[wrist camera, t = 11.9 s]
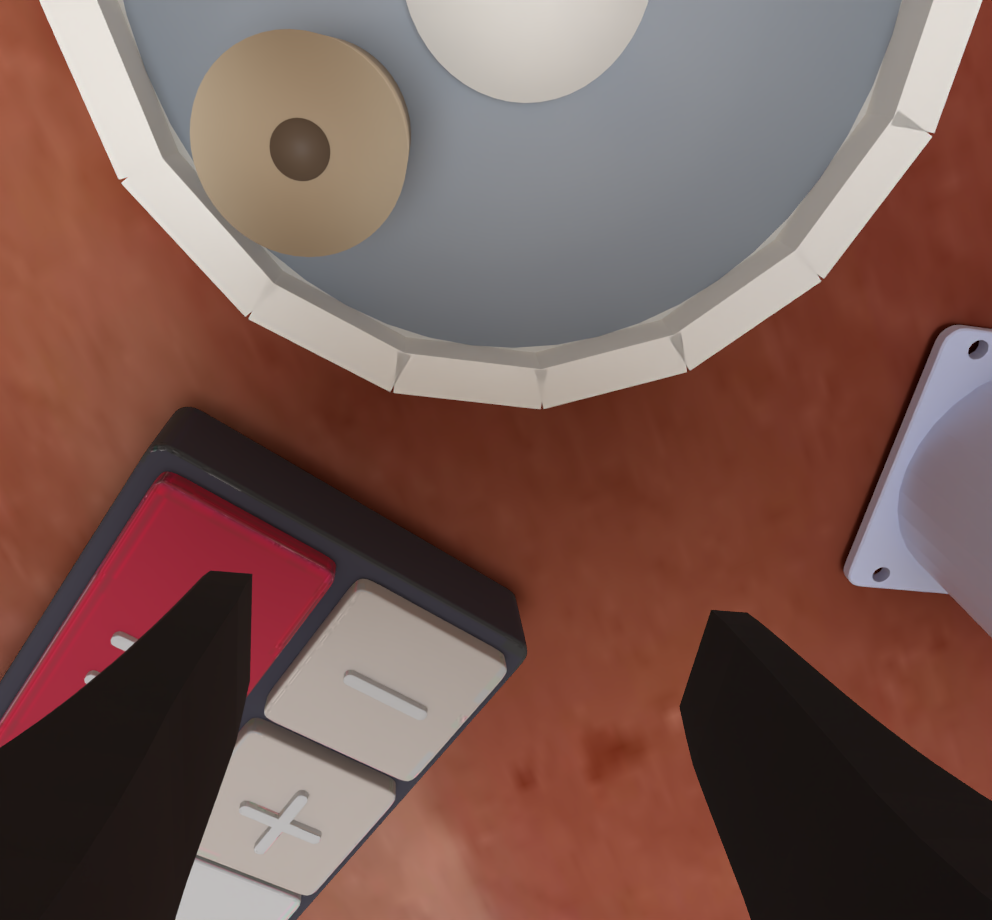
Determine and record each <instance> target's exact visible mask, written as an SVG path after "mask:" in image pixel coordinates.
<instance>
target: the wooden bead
mask: <svg viewBox="0 0 992 920" xmlns="http://www.w3.org/2000/svg"><path fill="white" fill-rule="evenodd" d="M190 143H191V151H192V156H193V161H194V165H195V168H196V171H197V174H198V177H199V179H200V181H201V184H202V186H203V188H204V190H205V192H206V194H207V195H208V197H209V198H210V200H211V202H212V203H213V205H214V206H215V207H216V209H217V210H218V211H219V212H220V214H221V215H222V216H223V217H224V218H225V219H226V220H227V221H228V222H229V223H230V224H231V225H232V226H233V227H234V228H235V229H237V230H238V231H239V232H240V233H242V234H243V235H244V236H246V237H247V238H249V239H250V240H252V241H254V242H255V243H257V244H259V245H261V246H263V247H265V248H268V249H270V250H273V251H276V252H279V253H282V254H287V255H292V256H300V257H320V256H327V255H332V254H336V253H339V252H342V251H345V250H348V249H350V248H352V247H354V246H356V245H358V244H359V243H361V242H362V241H364V240H365V239H367V238H368V237H370V236H371V235H372V234H373V233H374V232H375V231H376V230H377V229H378V228H379V227H380V226H381V225H382V224H383V223H384V221H385V220H386V219H387V218H388V216H389V215H390V213H391V211H392V210H393V208H394V207H395V205H396V202H397V200H398V198H399V196H400V193H401V190H402V187H403V183H404V180H405V174H406V169H407V163H408V157H409V151H410V145H411V126H410V118H409V113H408V109H407V106H406V103H405V100H404V97H403V95H402V93H401V91H400V88H399V86H398V85H397V83H396V82H395V80H394V78H393V77H392V75H391V74H390V73H389V72H388V70H387V69H386V68H385V67H384V66H383V65H382V64H381V63H380V62H379V61H378V60H377V59H376V58H375V57H374V56H372V55H371V54H370V53H368V52H367V51H366V50H364V49H362V48H360V47H359V46H357V45H355V44H353V43H350V42H348V41H345V40H342V39H338V38H334V37H330V36H326V35H322V34H318V33H314V32H310V31H306V30H296V29H279V30H271V31H266V32H261V33H258V34H255V35H253V36H250V37H247V38H245V39H244V40H242V41H240V42H238V43H236V44H234V45H233V46H232V47H231V48H229V49H228V50H227V51H225V52H224V53H223V54H222V55H221V56H220V57H219V58H218V59H217V60H216V61H215V62H214V63H213V64H212V66H211V67H210V69H209V70H208V72H207V73H206V75H205V76H204V78H203V80H202V82H201V84H200V86H199V88H198V90H197V93H196V96H195V100H194V103H193V107H192V113H191V118H190Z"/></svg>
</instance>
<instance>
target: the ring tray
mask: <svg viewBox="0 0 992 920" xmlns="http://www.w3.org/2000/svg"><path fill="white" fill-rule="evenodd" d="M39 1H40V3H41V5H42V8H43V10H44V12H45V14H46V17H47V19H48V21H49V23H50V26H51V28H52V30H53V33H54V35H55V37H56V39H57V42H58V44H59V46H60V48H61V51H62V53H63V55H64V57H65V60H66V62H67V64H68V66H69V69H70V71H71V73H72V75H73V78H74V80H75V82H76V84H77V87H78V89H79V91H80V93H81V96H82V98H83V100H84V102H85V105H86V107H87V109H88V111H89V114H90V116H91V118H92V120H93V123H94V125H95V127H96V130H97V132H98V134H99V136H100V139H101V141H102V143H103V145H104V148H105V150H106V152H107V154H108V157H109V159H110V161H111V163H112V166H113V168H114V170H115V172H116V175H117V177H118V179H122V178H126V177H128V178H126V179H125V180H124V181H123V182H122V183H121V184H122V185H123V186H124V187H125V188H126V189H127V190H128V191H129V192H130V193H131V194H132V195H133V197H134V198H135V199H136V200H137V201H138V202H139V203H140V204H141V205H142V206H143V207H144V208H145V209H146V211H147V212H148V213H149V214H150V215H151V216H152V217H153V218H154V219H155V220H156V221H157V222H158V223H159V224H160V226H161V227H162V228H163V229H164V230H165V231H166V232H167V233H168V234H169V235H170V236H171V237H172V238H173V240H174V241H175V242H176V243H177V244H178V245H179V246H180V247H181V248H182V249H183V250H184V251H185V252H186V254H187V255H188V256H189V257H190V258H191V259H192V260H193V261H194V262H195V263H196V264H197V265H198V266H199V268H200V269H201V270H202V271H203V272H204V273H205V274H206V275H207V276H208V277H209V278H210V279H211V280H212V282H213V283H214V284H215V285H216V286H217V287H218V288H219V289H220V290H221V291H222V292H223V293H224V294H225V296H226V297H227V298H228V299H229V300H230V301H231V302H232V303H233V304H234V305H235V306H236V307H237V308H238V310H239V311H240V312H241V313H242V314H243V315H244V316H245V317H246V316H247V315H248V314H249V313H251V312H252V313H251V315H250V317H249V320H251V321H253V322H255V323H257V324H259V325H261V326H263V327H265V328H266V329H268V330H270V331H272V332H274V333H276V334H278V335H280V336H282V337H284V338H286V339H288V340H290V341H292V342H294V343H296V344H298V345H300V346H302V347H303V348H305V349H307V350H309V351H311V352H313V353H315V354H317V355H319V356H321V357H323V358H325V359H327V360H329V361H331V362H333V363H335V364H337V365H339V366H340V367H342V368H344V369H346V370H348V371H350V372H352V373H354V374H356V375H358V376H360V377H362V378H364V379H366V380H368V381H370V382H372V383H374V384H376V385H377V386H379V387H381V388H383V389H385V390H387V391H389V392H390V391H391V390H392V388H393V386H394V393H398V394H407V395H416V396H425V397H434V398H443V399H452V400H461V401H470V402H479V403H488V404H497V405H506V406H515V407H524V408H533V409H541V404H542V405H543V408H544V409H546V408H550V407H554V406H558V405H562V404H566V403H569V402H573V401H577V400H581V399H585V398H589V397H593V396H597V395H600V394H604V393H608V392H612V391H616V390H620V389H624V388H628V387H631V386H635V385H639V384H643V383H647V382H651V381H655V380H659V379H662V378H666V377H670V376H674V375H678V374H682V373H686V372H687V369H686V367H687V368H688V369H689V370H692V369H693V368H695V367H696V366H698V365H699V364H701V363H702V362H704V361H705V360H707V359H708V358H709V357H711V356H712V355H714V354H715V353H717V352H718V351H720V350H721V349H723V348H724V347H726V346H727V345H729V344H730V343H731V342H733V341H734V340H736V339H737V338H739V337H740V336H742V335H743V334H745V333H746V332H748V331H749V330H751V329H752V328H753V327H755V326H756V325H758V324H759V323H761V322H762V321H764V320H765V319H767V318H768V317H770V316H771V315H773V314H774V313H776V312H777V311H778V310H780V309H781V308H783V307H784V306H786V305H787V304H789V303H790V302H792V301H793V300H795V299H796V298H798V297H799V296H800V295H802V294H803V293H805V292H806V291H808V290H809V289H811V288H812V287H814V286H815V285H817V284H818V283H820V282H821V280H820V278H819V276H820V277H822V278H823V279H824V278H825V277H826V275H827V274H828V273H829V272H830V270H831V269H832V268H833V266H834V265H835V264H836V262H837V261H838V260H839V258H840V257H841V256H842V254H843V253H844V252H845V251H846V249H847V248H848V247H849V245H850V244H851V243H852V241H853V240H854V239H855V237H856V236H857V235H858V233H859V232H860V231H861V230H862V228H863V227H864V226H865V224H866V223H867V222H868V220H869V219H870V218H871V216H872V215H873V214H874V213H875V211H876V210H877V209H878V207H879V206H880V205H881V203H882V202H883V201H884V199H885V198H886V197H887V195H888V194H889V193H890V192H891V190H892V189H893V188H894V186H895V185H896V184H897V182H898V181H899V180H900V178H901V177H902V176H903V174H904V173H905V172H906V171H907V169H908V168H909V167H910V165H911V164H912V163H913V161H914V160H915V159H916V157H917V156H918V155H919V154H920V152H921V151H922V150H923V148H924V147H925V146H926V144H927V143H928V142H929V140H930V139H931V138H932V136H931V135H930V134H928V133H927V132H932V133H935V130H936V127H937V124H938V122H939V119H940V116H941V113H942V111H943V108H944V105H945V102H946V100H947V97H948V94H949V91H950V88H951V86H952V83H953V80H954V77H955V75H956V72H957V69H958V66H959V64H960V61H961V58H962V55H963V53H964V50H965V47H966V44H967V42H968V39H969V36H970V33H971V30H972V28H973V25H974V22H975V19H976V17H977V14H978V11H979V8H980V6H981V3H982V0H39ZM279 29H296V30H306V31H310V32H314V33H318V34H322V35H326V36H330V37H334V38H338V39H342V40H345V41H348V42H350V43H353V44H355V45H357V46H359V47H360V48H362V49H364V50H366V51H367V52H368V53H370V54H371V55H372V56H374V57H375V58H376V59H377V60H378V61H379V62H380V63H381V64H382V65H383V66H384V67H385V68H386V69H387V70H388V72H389V73H390V74H391V75H392V77H393V78H394V80H395V82H396V83H397V85H398V86H399V88H400V91H401V93H402V95H403V97H404V100H405V103H406V106H407V109H408V113H409V118H410V126H411V145H410V151H409V157H408V163H407V169H406V174H405V180H404V183H403V187H402V190H401V193H400V196H399V198H398V200H397V202H396V205H395V207H394V208H393V210H392V211H391V213H390V215H389V216H388V218H387V219H386V220H385V221H384V223H383V224H382V225H381V226H380V227H379V228H378V229H377V230H376V231H375V232H374V233H373V234H372V235H371V236H370V237H368V238H367V239H365V240H364V241H362V242H361V243H359V244H358V245H356V246H354V247H352V248H350V249H348V250H345V251H342V252H339V253H336V254H332V255H327V256H320V257H300V256H292V255H287V254H282V253H279V252H276V251H273V250H270V249H268V248H265V247H263V246H261V245H259V244H257V243H255V242H254V241H252V240H250V239H249V238H247V237H246V236H244V235H243V234H242V233H240V232H239V231H238V230H237V229H235V228H234V227H233V226H232V225H231V224H230V223H229V222H228V221H227V220H226V219H225V218H224V217H223V216H222V215H221V214H220V212H219V211H218V210H217V209H216V207H215V206H214V205H213V203H212V202H211V200H210V198H209V197H208V195H207V194H206V192H205V190H204V188H203V186H202V184H201V181H200V179H199V177H198V174H197V171H196V168H195V165H194V161H193V156H192V151H191V143H190V118H191V113H192V107H193V103H194V100H195V96H196V93H197V90H198V88H199V86H200V84H201V82H202V80H203V78H204V76H205V75H206V73H207V72H208V70H209V69H210V67H211V66H212V64H213V63H214V62H215V61H216V60H217V59H218V58H219V57H220V56H221V55H222V54H223V53H224V52H225V51H227V50H228V49H229V48H231V47H232V46H233V45H234V44H236V43H238V42H240V41H242V40H244V39H245V38H247V37H250V36H253V35H255V34H258V33H261V32H266V31H271V30H279Z"/></svg>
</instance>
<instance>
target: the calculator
mask: <svg viewBox="0 0 992 920" xmlns="http://www.w3.org/2000/svg"><path fill="white" fill-rule="evenodd" d="M210 570H211V571H223V572H236V573H249V574H252V616H251V661H250V683H249V688H248V692H247V697H246V701H245V706H244V710H243V715H242V719H241V724H240V728H239V732H238V736H237V741H236V744H235V747H234V750H233V753H232V756H231V759H230V762H229V764H228V767H227V770H226V773H225V776H224V779H223V782H222V784H221V787H220V790H219V793H218V796H217V799H216V801H215V804H214V807H213V810H212V813H211V815H210V818H209V821H208V824H207V827H206V830H205V832H204V835H203V838H202V841H201V844H200V846H199V849H198V852H197V855H196V858H195V861H194V863H193V866H192V869H191V872H190V875H189V877H188V880H187V883H186V886H185V889H184V893H183V896H182V899H181V902H180V906H179V909H178V912H177V915H176V919H175V920H296V919H297V918H298V917H299V916H300V915H301V914H302V913H303V911H304V910H305V909H306V908H307V907H308V906H309V905H310V904H311V902H312V901H313V900H314V899H315V898H316V897H317V896H318V894H319V893H320V892H321V891H322V890H323V889H324V888H325V886H326V885H327V884H328V883H329V882H330V881H331V880H332V879H333V877H334V876H335V875H336V874H337V873H338V872H339V871H340V869H341V868H342V867H343V866H344V865H345V864H346V863H347V861H348V860H349V859H350V858H351V857H352V856H353V855H354V854H355V852H356V851H357V850H358V849H359V848H360V847H361V846H362V844H363V843H364V842H365V841H366V840H367V839H368V838H369V836H370V835H371V834H372V833H373V832H374V831H375V830H376V828H377V827H378V826H379V825H380V824H381V823H382V822H383V821H384V819H385V818H386V817H387V816H388V815H389V814H390V813H391V811H392V810H393V809H394V808H395V807H396V806H397V805H398V803H399V802H400V801H401V800H402V799H403V798H404V797H405V796H406V794H407V793H408V792H409V791H410V790H411V789H412V788H413V786H414V785H415V784H416V783H417V782H418V781H419V780H420V778H421V777H422V776H423V775H424V774H425V773H426V772H427V771H428V769H429V768H430V767H431V766H432V765H433V764H434V763H435V761H436V760H437V759H438V758H439V757H440V756H441V755H442V753H443V752H444V751H445V750H446V749H447V748H448V747H449V746H450V744H451V743H452V742H453V741H454V740H455V739H456V738H457V736H458V735H459V734H460V733H461V732H462V731H463V730H464V728H465V727H466V726H467V725H468V724H469V723H470V722H471V721H472V719H473V718H474V717H475V716H476V715H477V714H478V713H479V711H480V710H481V709H482V708H483V707H484V706H485V705H486V703H487V702H488V701H489V700H490V699H491V698H492V697H493V696H494V694H495V693H496V692H497V691H498V690H499V689H500V688H501V686H502V685H503V684H504V683H505V682H506V681H507V680H508V678H509V677H510V676H511V675H512V674H513V673H514V672H515V671H516V669H517V668H518V667H519V666H520V665H521V664H522V662H523V661H524V660H525V658H526V656H527V647H526V642H525V637H524V633H523V628H522V624H521V619H520V615H519V611H518V606H517V602H516V598H515V596H514V594H513V593H512V592H511V591H510V590H508V589H507V588H505V587H503V586H502V585H500V584H498V583H497V582H495V581H493V580H491V579H490V578H488V577H486V576H485V575H483V574H481V573H479V572H478V571H476V570H474V569H472V568H471V567H469V566H467V565H466V564H464V563H462V562H460V561H459V560H457V559H455V558H454V557H452V556H450V555H448V554H447V553H445V552H443V551H442V550H440V549H438V548H436V547H435V546H433V545H431V544H430V543H428V542H426V541H424V540H423V539H421V538H419V537H417V536H416V535H414V534H412V533H411V532H409V531H407V530H405V529H404V528H402V527H400V526H399V525H397V524H395V523H393V522H392V521H390V520H388V519H387V518H385V517H383V516H381V515H380V514H378V513H376V512H375V511H373V510H371V509H369V508H368V507H366V506H364V505H362V504H361V503H359V502H357V501H356V500H354V499H352V498H350V497H349V496H347V495H345V494H344V493H342V492H340V491H338V490H337V489H335V488H333V487H332V486H330V485H328V484H326V483H325V482H323V481H321V480H320V479H318V478H316V477H314V476H313V475H311V474H309V473H307V472H306V471H304V470H302V469H301V468H299V467H297V466H295V465H294V464H292V463H290V462H289V461H287V460H285V459H283V458H282V457H280V456H278V455H277V454H275V453H273V452H271V451H270V450H268V449H266V448H265V447H263V446H261V445H259V444H258V443H256V442H254V441H252V440H251V439H249V438H247V437H246V436H244V435H242V434H240V433H239V432H237V431H235V430H234V429H232V428H230V427H228V426H227V425H225V424H223V423H222V422H220V421H218V420H216V419H215V418H213V417H211V416H209V415H208V414H206V413H204V412H202V411H200V410H198V409H196V408H193V407H184V408H180V409H178V410H177V411H176V412H175V413H174V414H173V415H172V417H171V418H170V419H169V421H168V422H167V423H166V425H165V426H164V427H163V429H162V430H161V431H160V433H159V434H158V436H157V437H156V438H155V440H154V441H153V442H152V444H151V445H150V446H149V448H148V449H147V451H146V452H145V454H144V455H143V457H142V458H141V460H140V461H139V463H138V465H137V466H136V468H135V469H134V471H133V473H132V474H131V476H130V477H129V479H128V480H127V482H126V484H125V485H124V487H123V488H122V490H121V492H120V493H119V495H118V496H117V498H116V499H115V501H114V503H113V504H112V506H111V507H110V509H109V511H108V512H107V514H106V515H105V517H104V518H103V520H102V522H101V523H100V525H99V526H98V528H97V530H96V531H95V533H94V534H93V536H92V538H91V539H90V541H89V542H88V544H87V545H86V547H85V549H84V550H83V552H82V553H81V555H80V557H79V558H78V560H77V561H76V563H75V564H74V566H73V568H72V569H71V571H70V572H69V574H68V576H67V577H66V579H65V580H64V582H63V583H62V585H61V587H60V588H59V590H58V591H57V593H56V595H55V596H54V598H53V599H52V601H51V603H50V604H49V606H48V607H47V609H46V610H45V612H44V614H43V615H42V617H41V618H40V620H39V622H38V623H37V625H36V626H35V628H34V629H33V631H32V633H31V634H30V636H29V637H28V639H27V641H26V642H25V644H24V645H23V647H22V648H21V650H20V652H19V653H18V655H17V656H16V658H15V660H14V661H13V663H12V664H11V666H10V668H9V669H8V671H7V672H6V674H5V675H4V677H3V679H2V680H1V682H0V747H2V746H3V745H5V744H6V743H8V742H9V741H11V740H12V739H14V738H15V737H16V736H18V735H19V734H21V733H22V732H24V731H25V730H26V729H28V728H29V727H31V726H32V725H34V724H35V723H37V722H38V721H39V720H41V719H42V718H43V717H45V716H46V715H47V714H49V713H50V712H52V711H53V710H54V709H56V708H57V707H58V706H59V705H61V704H62V703H63V702H65V701H66V700H67V699H69V698H70V697H71V696H73V695H74V694H75V693H76V692H77V691H79V690H80V689H81V688H82V687H84V686H85V685H86V684H87V683H88V682H90V681H91V680H92V679H93V678H94V677H96V676H97V675H98V674H99V673H101V672H102V671H103V670H104V669H105V668H107V667H108V666H109V665H110V664H111V663H113V662H114V661H115V660H116V659H117V658H118V657H120V656H121V655H122V654H123V653H124V652H125V651H126V650H127V649H128V648H129V647H131V646H132V645H133V644H134V643H135V642H136V641H137V640H138V639H139V638H140V637H141V636H143V635H144V634H145V633H146V632H147V631H148V630H149V629H150V628H151V627H152V626H153V625H155V624H156V623H157V622H158V621H159V620H160V619H161V618H162V617H163V616H164V615H165V614H166V613H167V612H168V611H169V610H170V609H171V608H172V607H173V606H174V605H175V604H176V603H177V602H178V601H179V600H180V599H181V598H182V597H183V596H184V595H185V594H186V593H187V592H188V591H189V590H190V589H191V588H192V587H193V586H194V585H195V584H196V582H197V581H198V580H199V579H200V578H201V577H202V576H204V575H205V574H206V573H208V572H209V571H210Z"/></svg>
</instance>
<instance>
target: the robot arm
mask: <svg viewBox="0 0 992 920" xmlns="http://www.w3.org/2000/svg"><path fill="white" fill-rule="evenodd" d="M978 340H979V345H978V347H977V349H976V350H975V351H974V352H972V353H971V354H968V351H969V348H970V346H971V345H972V344H973V343H974V342H976V341H978ZM882 567H883V568H882ZM879 568H882V570H881V571H880V572H878V573H877V574H873V573H874V572H875V570H877V569H879ZM843 571H844V574H845V576H846V577H847V579H848V580H849V581H850V582H851V583H852V584H853V585H856V586H862V587H874V588H885V589H897V590H909V591H920V592H932V593H944V594H949V595H950V596H951V597H952V598H953V599H954V600H955V601H956V602H957V603H958V604H959V605H960V606H961V607H962V608H963V609H964V610H965V611H966V612H967V613H968V614H969V615H970V616H971V617H972V618H973V619H974V620H975V621H976V622H977V623H978V624H979V625H980V626H981V627H982V628H983V629H984V630H985V631H986V632H987V633H988V634H989V635H990V637H991V638H992V329H988V328H981V327H973V326H966V325H953V326H950V327H948V328H946V329H945V330H944V331H942V332H941V333H940V334H939V336H938V337H937V339H936V341H935V343H934V345H933V348H932V350H931V353H930V355H929V358H928V360H927V363H926V365H925V368H924V370H923V372H922V375H921V377H920V380H919V382H918V385H917V387H916V390H915V392H914V395H913V397H912V400H911V402H910V405H909V407H908V410H907V412H906V414H905V417H904V419H903V422H902V424H901V427H900V429H899V432H898V434H897V437H896V439H895V442H894V444H893V447H892V449H891V451H890V454H889V456H888V459H887V461H886V464H885V466H884V469H883V471H882V474H881V476H880V479H879V481H878V484H877V486H876V488H875V491H874V493H873V496H872V498H871V501H870V503H869V506H868V508H867V511H866V513H865V516H864V518H863V521H862V523H861V526H860V528H859V530H858V533H857V535H856V538H855V540H854V543H853V545H852V548H851V550H850V553H849V555H848V558H847V560H846V563H845V565H844V570H843ZM251 616H252V574H249V573H236V572H223V571H211V570H210V571H209V572H208V573H206V574H205V575H204V576H202V577H201V578H200V579H199V580H198V581H197V582H196V584H195V585H194V586H193V587H192V588H191V589H190V590H189V591H188V592H187V593H186V594H185V595H184V596H183V597H182V598H181V599H180V600H179V601H178V602H177V603H176V604H175V605H174V606H173V607H172V608H171V609H170V610H169V611H168V612H167V613H166V614H165V615H164V616H163V617H162V618H161V619H160V620H159V621H158V622H157V623H156V624H155V625H153V626H152V627H151V628H150V629H149V630H148V631H147V632H146V633H145V634H144V635H143V636H141V637H140V638H139V639H138V640H137V641H136V642H135V643H134V644H133V645H132V646H131V647H129V648H128V649H127V650H126V651H125V652H124V653H123V654H122V655H121V656H120V657H118V658H117V659H116V660H115V661H114V662H113V663H111V664H110V665H109V666H108V667H107V668H105V669H104V670H103V671H102V672H101V673H99V674H98V675H97V676H96V677H94V678H93V679H92V680H91V681H90V682H88V683H87V684H86V685H85V686H84V687H82V688H81V689H80V690H79V691H77V692H76V693H75V694H74V695H73V696H71V697H70V698H69V699H67V700H66V701H65V702H63V703H62V704H61V705H59V706H58V707H57V708H56V709H54V710H53V711H52V712H50V713H49V714H47V715H46V716H45V717H43V718H42V719H41V720H39V721H38V722H37V723H35V724H34V725H32V726H31V727H29V728H28V729H26V730H25V731H24V732H22V733H21V734H19V735H18V736H16V737H15V738H14V739H12V740H11V741H9V742H8V743H6V744H5V745H3V746H2V747H0V920H175V919H176V915H177V912H178V909H179V906H180V902H181V899H182V896H183V893H184V889H185V886H186V883H187V880H188V877H189V875H190V872H191V869H192V866H193V863H194V861H195V858H196V855H197V852H198V849H199V846H200V844H201V841H202V838H203V835H204V832H205V830H206V827H207V824H208V821H209V818H210V815H211V813H212V810H213V807H214V804H215V801H216V799H217V796H218V793H219V790H220V787H221V784H222V782H223V779H224V776H225V773H226V770H227V767H228V764H229V762H230V759H231V756H232V753H233V750H234V747H235V744H236V741H237V736H238V732H239V728H240V724H241V719H242V715H243V710H244V706H245V701H246V697H247V692H248V688H249V683H250V661H251ZM680 711H681V716H682V720H683V725H684V729H685V734H686V739H687V743H688V747H689V751H690V755H691V759H692V763H693V766H694V769H695V772H696V775H697V777H698V780H699V783H700V786H701V788H702V791H703V794H704V796H705V799H706V802H707V804H708V807H709V810H710V812H711V815H712V817H713V820H714V823H715V825H716V828H717V830H718V833H719V836H720V838H721V841H722V843H723V846H724V848H725V851H726V854H727V856H728V859H729V861H730V864H731V867H732V869H733V872H734V874H735V877H736V880H737V882H738V885H739V887H740V890H741V893H742V895H743V898H744V901H745V904H746V906H747V909H748V912H749V915H750V918H751V920H992V801H991V800H989V799H988V798H986V797H984V796H983V795H981V794H980V793H978V792H977V791H975V790H974V789H972V788H971V787H969V786H968V785H966V784H965V783H963V782H962V781H960V780H959V779H957V778H956V777H954V776H953V775H951V774H950V773H948V772H947V771H945V770H944V769H942V768H941V767H939V766H938V765H936V764H935V763H934V762H932V761H931V760H929V759H928V758H927V757H925V756H924V755H922V754H921V753H920V752H918V751H917V750H915V749H914V748H913V747H911V746H910V745H909V744H907V743H906V742H905V741H903V740H902V739H901V738H900V737H898V736H897V735H896V734H894V733H893V732H892V731H890V730H889V729H888V728H886V727H885V726H884V725H883V724H881V723H880V722H879V721H877V720H876V719H875V718H874V717H872V716H871V715H870V714H869V713H867V712H866V711H865V710H864V709H862V708H861V707H860V706H859V705H857V704H856V703H855V702H854V701H852V700H851V699H850V698H849V697H848V696H846V695H845V694H844V693H843V692H842V691H840V690H839V689H838V688H837V687H836V686H834V685H833V684H832V683H831V682H830V681H829V680H827V679H826V678H825V677H824V676H823V675H821V674H820V673H819V672H818V671H817V670H816V669H814V668H813V667H812V666H811V665H810V664H809V663H807V662H806V661H805V660H804V659H803V658H802V657H801V656H799V655H798V654H797V653H796V652H795V651H794V650H792V649H791V648H790V647H789V646H788V645H787V644H785V643H784V642H783V641H782V640H781V639H779V638H778V637H777V636H776V635H775V634H774V633H772V632H771V631H770V630H769V629H767V628H766V627H765V626H764V625H763V624H761V623H760V622H759V621H757V620H756V619H755V618H753V617H752V616H751V615H749V614H748V613H743V612H730V611H718V610H711V612H710V616H709V619H708V622H707V625H706V628H705V631H704V634H703V637H702V640H701V643H700V646H699V649H698V652H697V655H696V658H695V661H694V664H693V667H692V670H691V673H690V676H689V679H688V682H687V686H686V689H685V692H684V695H683V698H682V701H681V704H680Z"/></svg>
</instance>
